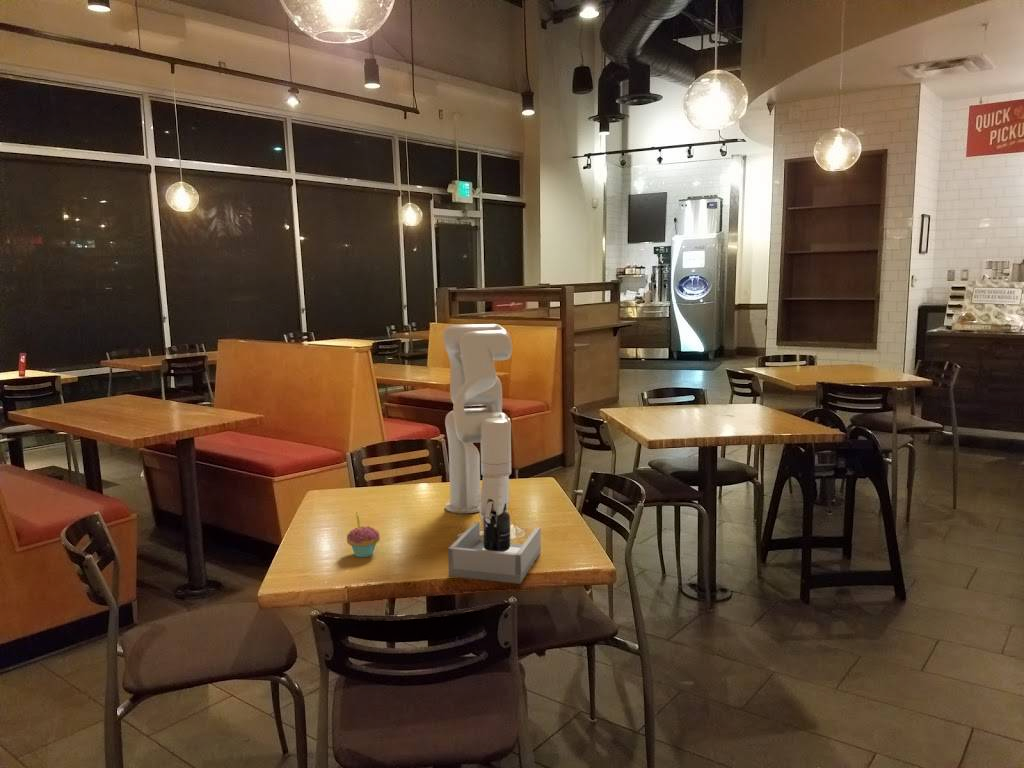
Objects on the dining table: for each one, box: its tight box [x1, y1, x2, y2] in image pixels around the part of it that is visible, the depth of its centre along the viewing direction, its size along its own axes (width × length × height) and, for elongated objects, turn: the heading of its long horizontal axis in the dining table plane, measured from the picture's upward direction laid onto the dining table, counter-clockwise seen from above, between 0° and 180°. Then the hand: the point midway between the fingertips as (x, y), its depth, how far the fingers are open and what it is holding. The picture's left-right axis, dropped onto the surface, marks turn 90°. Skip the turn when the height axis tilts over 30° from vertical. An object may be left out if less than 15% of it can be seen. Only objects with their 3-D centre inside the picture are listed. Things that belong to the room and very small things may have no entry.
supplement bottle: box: [482, 503, 511, 552], centre depth 182 cm, size 7×7×12 cm
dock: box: [447, 521, 542, 585], centre depth 181 cm, size 20×18×7 cm
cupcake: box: [346, 512, 381, 558], centre depth 189 cm, size 9×8×12 cm
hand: (497, 535), depth 182 cm, fingers closed on supplement bottle, 6 cm apart
